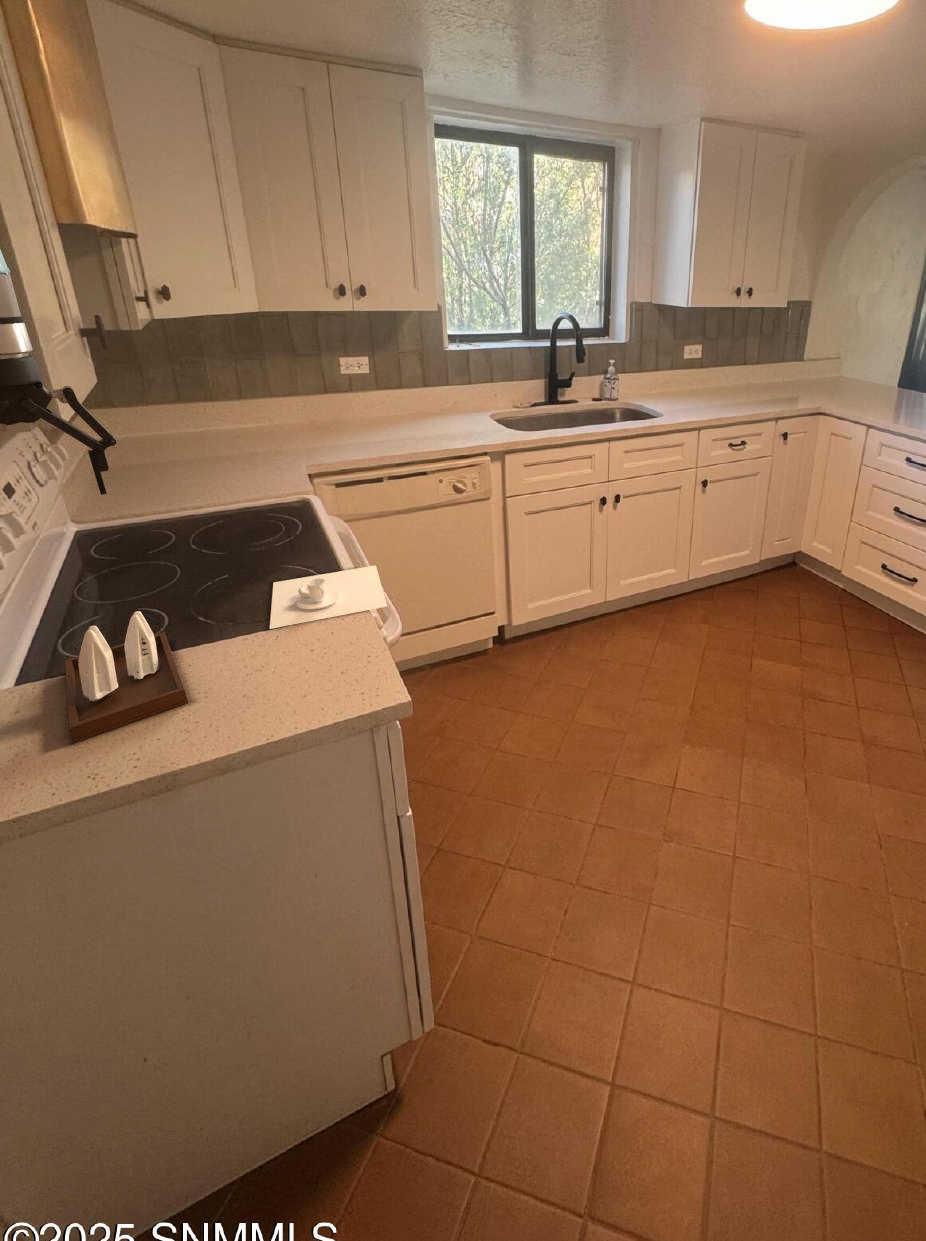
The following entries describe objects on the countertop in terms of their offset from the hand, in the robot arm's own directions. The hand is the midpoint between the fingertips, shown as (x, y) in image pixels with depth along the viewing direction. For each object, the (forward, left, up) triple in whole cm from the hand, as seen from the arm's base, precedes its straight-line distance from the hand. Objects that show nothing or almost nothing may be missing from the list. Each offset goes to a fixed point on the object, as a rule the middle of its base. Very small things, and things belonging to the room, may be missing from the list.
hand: (46, 501), depth 93 cm
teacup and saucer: (+28, +24, -27) cm, 45 cm away
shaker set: (+12, -8, -26) cm, 30 cm away
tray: (+12, -8, -27) cm, 30 cm away
